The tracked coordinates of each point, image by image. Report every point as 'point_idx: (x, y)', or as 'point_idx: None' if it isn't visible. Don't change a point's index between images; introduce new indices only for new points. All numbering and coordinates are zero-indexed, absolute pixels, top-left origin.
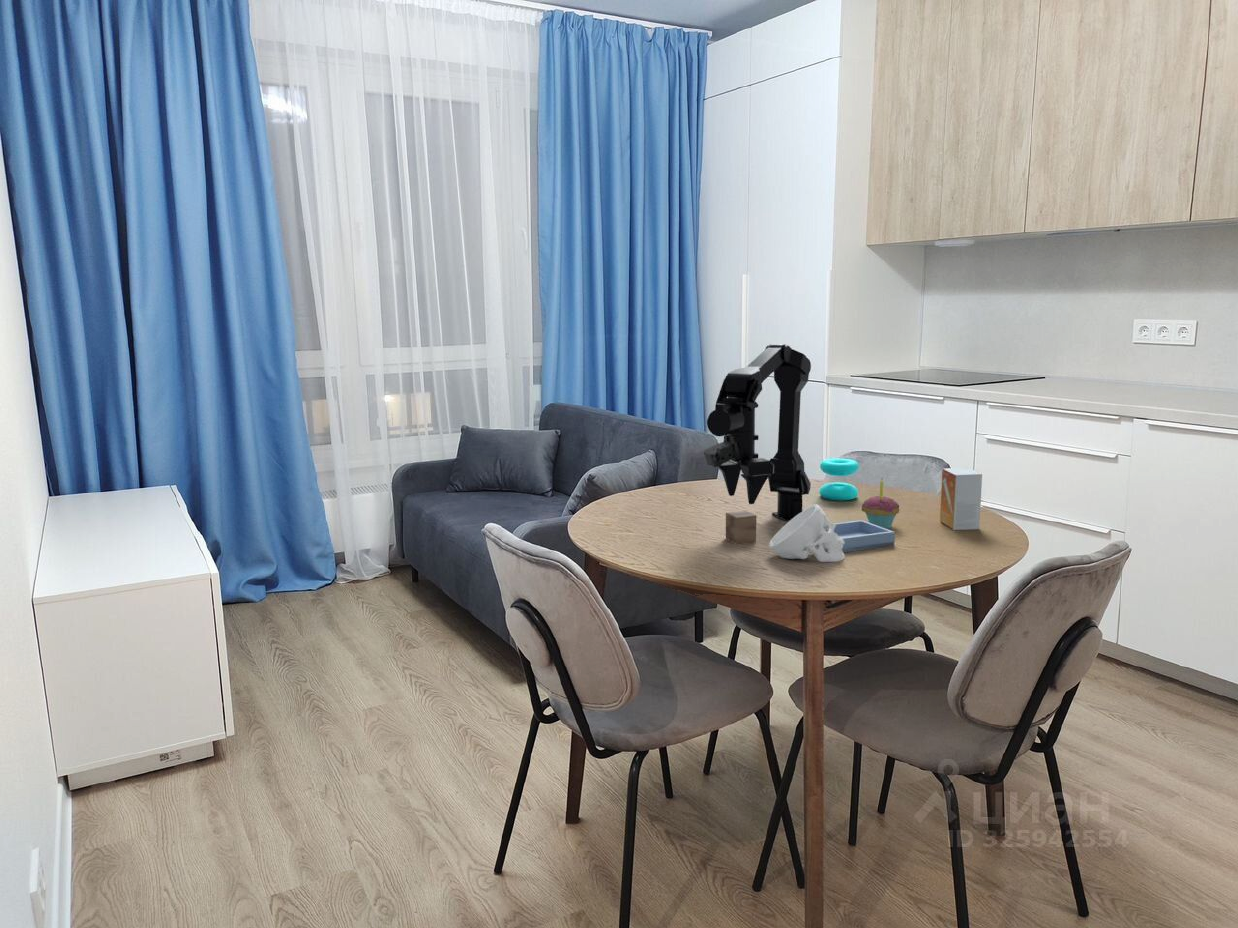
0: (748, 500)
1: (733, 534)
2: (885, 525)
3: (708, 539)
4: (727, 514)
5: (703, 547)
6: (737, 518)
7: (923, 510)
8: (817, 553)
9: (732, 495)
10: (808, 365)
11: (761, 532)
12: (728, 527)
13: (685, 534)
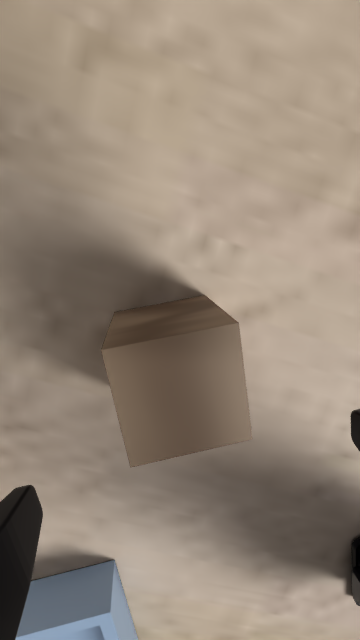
0: (15, 503)
1: (138, 315)
2: None
3: (209, 219)
4: (214, 325)
5: (85, 152)
6: (103, 355)
7: None
8: None
9: (351, 429)
10: None
11: (245, 441)
12: (189, 311)
13: (317, 141)
